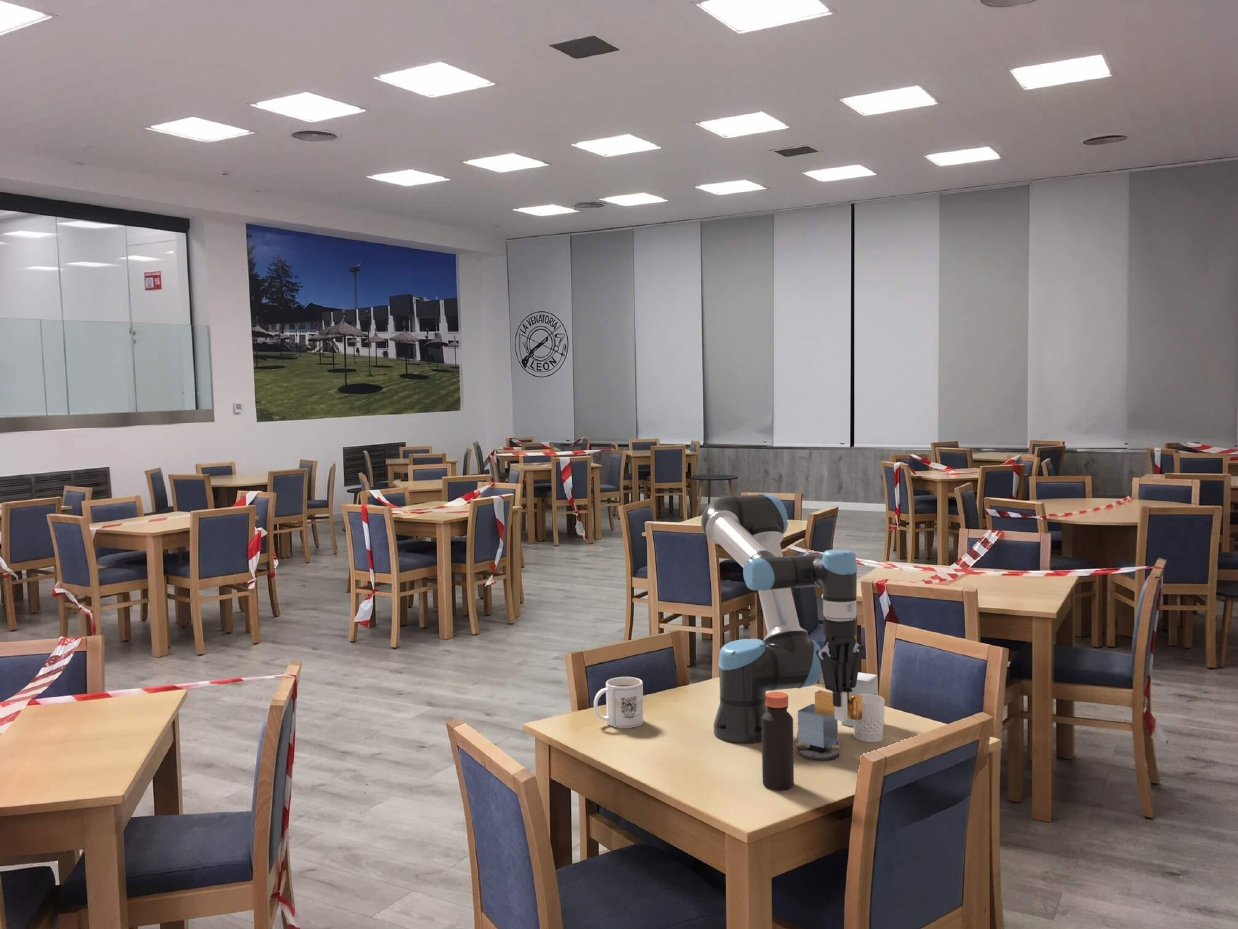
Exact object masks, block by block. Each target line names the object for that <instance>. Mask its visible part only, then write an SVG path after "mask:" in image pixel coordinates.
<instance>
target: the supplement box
mask: <svg viewBox="0 0 1238 929" xmlns="http://www.w3.org/2000/svg"><path fill="white" fill-rule="evenodd" d="M851 689H852V690H853V691H852V692H851V693H850V692H849V696H850V695H852V694H873V695H878V674H873V673H867V672H865V673H864V672H859V671H858V677H857V683H856V687H855V688H851ZM878 696H879V695H878ZM840 723H841V725H844V726H847V727H854V722H853V720H852V719H849V718H847V721H844V722H842V721H840Z"/></svg>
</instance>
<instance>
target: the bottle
mask: <svg viewBox="0 0 1238 929" xmlns="http://www.w3.org/2000/svg"><path fill="white" fill-rule="evenodd" d="M765 696H766V707H767V711H766V712H765V713H764V714H763V716H762V741H761V764H762V765H761V768H762V769H761V770H762V772H761V774H762V785H763V787H765V788H766V789H770V790H772V791H785V790H786V791H787V790H789V789H791V788H793V787H794V785H795V774H794V773H795V770H794V767H795V766H794V765H795V764H794V762H795V761H794V755H795V754H794V718H793V717H792V715H791V713H789V712H788V708H789V694H787V693H786V692H781V691H769V692H766V695H765Z"/></svg>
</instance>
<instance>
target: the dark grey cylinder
mask: <svg viewBox="0 0 1238 929" xmlns="http://www.w3.org/2000/svg"><path fill="white" fill-rule="evenodd" d="M840 749H841V748H840V744H839V745H838V746H832V745H828V746H826V747H824V748H822V747H818V746H814V745H809V744H805V743H801V742H797V744H796V754H797V755H798V757H800V758H803V759H804V760H810V761H815V762H816V761H819V762H826V761H827V762H828V761H834V760H835V759H838V758H839V757H840V752H841V750H840Z"/></svg>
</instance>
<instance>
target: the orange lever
mask: <svg viewBox="0 0 1238 929" xmlns="http://www.w3.org/2000/svg"><path fill="white" fill-rule="evenodd" d="M847 718H849V719H852V720H861V719H862V696H861V695H858V694H852V695H850V696H849V704H848V705H847ZM838 721H839V720H837V719H835V706H833V692H832V691H824V690H817V691H814V703H810V704H809V705H807V706H805V707H803V708H801V709H799V710H797V732H796V738H797V743H800V742H801V743H805V744H809V745H814V746H818V747H822V748H824V747H826V746H828V745H832V746H838V745H839V746H840V739H839V734H838V733H839V731H838V728H839V727H838V726H839V725H838V723H839V722H838Z"/></svg>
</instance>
